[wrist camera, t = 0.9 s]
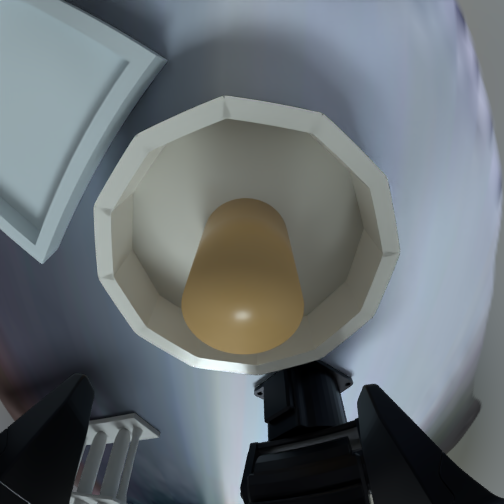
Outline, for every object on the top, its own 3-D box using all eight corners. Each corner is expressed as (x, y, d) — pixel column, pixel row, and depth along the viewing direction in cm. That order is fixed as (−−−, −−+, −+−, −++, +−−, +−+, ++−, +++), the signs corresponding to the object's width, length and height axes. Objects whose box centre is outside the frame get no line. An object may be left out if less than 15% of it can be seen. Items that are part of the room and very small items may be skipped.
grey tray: (168, 60, 15) (156, 55, 13) (57, 248, 20) (42, 264, 18) (3, -26, 9) (-15, -31, 7) (-65, 134, 15) (-82, 140, 13)
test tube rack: (135, 412, 29) (107, 518, 17) (160, 431, 31) (142, 532, 19) (32, 426, 35) (6, 490, 23) (52, 442, 36) (30, 505, 25)
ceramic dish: (416, 221, 19) (445, 248, 15) (260, 362, 25) (261, 401, 21) (224, 45, 14) (216, 30, 11) (85, 250, 20) (58, 280, 16)
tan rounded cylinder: (305, 233, 19) (329, 303, 13) (251, 287, 21) (251, 368, 14) (238, 180, 17) (231, 231, 11) (187, 243, 19) (159, 316, 13)
